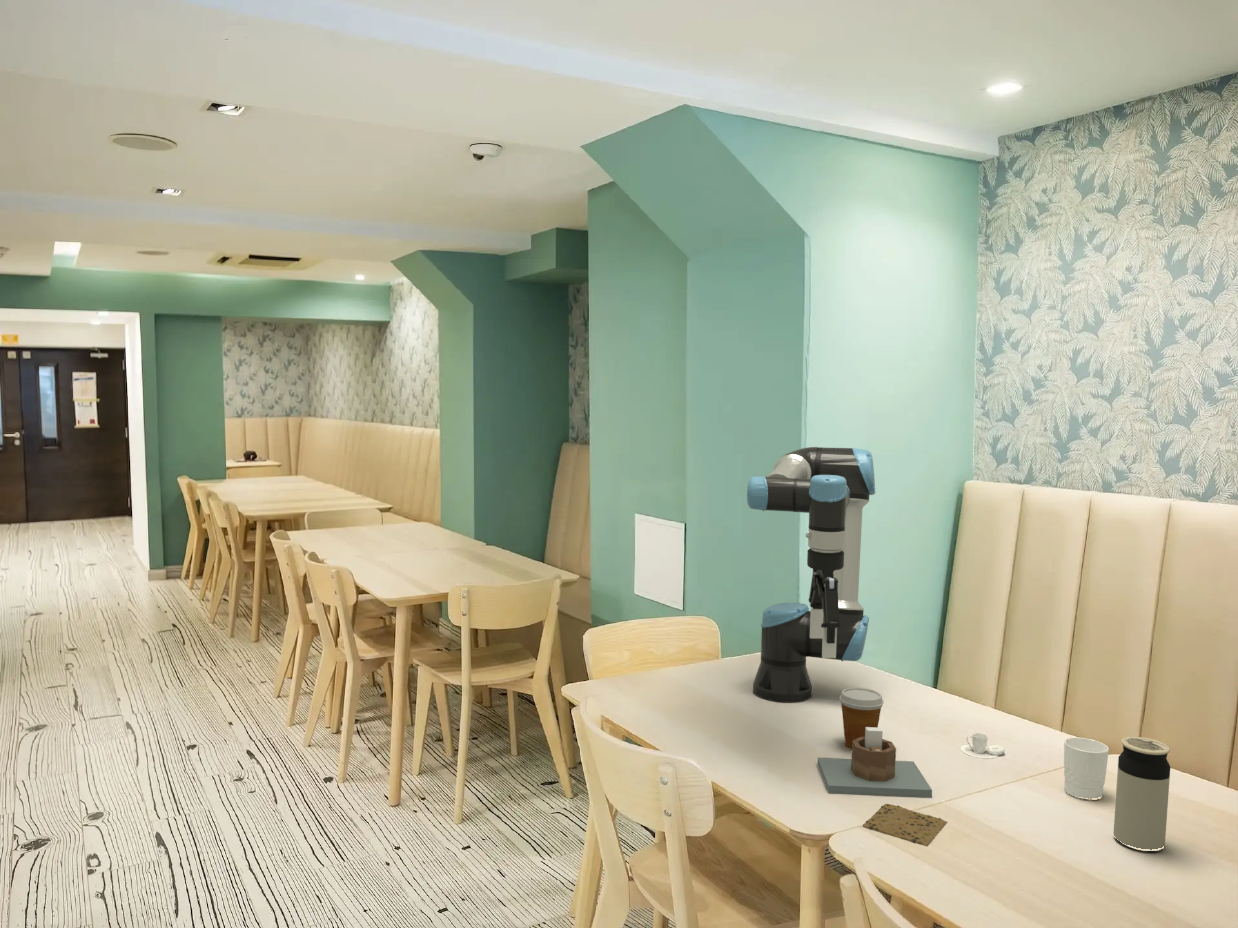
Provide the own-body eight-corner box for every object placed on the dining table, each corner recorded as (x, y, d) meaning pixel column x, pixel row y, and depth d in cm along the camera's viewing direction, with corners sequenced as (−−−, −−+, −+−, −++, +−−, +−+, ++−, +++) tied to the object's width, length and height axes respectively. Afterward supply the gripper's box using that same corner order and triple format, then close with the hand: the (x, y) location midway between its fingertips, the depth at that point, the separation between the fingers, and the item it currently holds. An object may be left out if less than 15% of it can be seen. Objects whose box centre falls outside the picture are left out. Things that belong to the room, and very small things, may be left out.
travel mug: (1143, 857, 160) (1150, 755, 158) (1103, 836, 167) (1109, 738, 165) (1175, 848, 163) (1182, 749, 161) (1133, 828, 170) (1140, 733, 169)
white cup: (1088, 805, 180) (1091, 755, 179) (1052, 789, 187) (1055, 740, 186) (1114, 797, 183) (1117, 748, 182) (1078, 782, 190) (1081, 734, 189)
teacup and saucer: (1008, 754, 205) (1009, 736, 205) (993, 764, 200) (994, 746, 199) (968, 743, 211) (969, 726, 211) (954, 752, 206) (954, 735, 205)
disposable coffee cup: (832, 749, 205) (834, 696, 204) (843, 735, 213) (845, 684, 212) (876, 758, 201) (878, 703, 200) (885, 743, 209) (888, 691, 208)
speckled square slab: (928, 849, 162) (928, 843, 162) (860, 828, 169) (861, 823, 169) (949, 824, 171) (949, 819, 171) (884, 805, 179) (884, 800, 179)
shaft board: (817, 764, 197) (819, 715, 196) (913, 768, 196) (915, 719, 195) (828, 792, 183) (830, 740, 182) (931, 797, 182) (934, 745, 181)
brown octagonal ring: (848, 764, 193) (849, 735, 193) (888, 765, 193) (889, 736, 192) (856, 780, 185) (857, 750, 185) (897, 781, 185) (899, 751, 184)
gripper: (797, 537, 208) (794, 630, 210) (819, 561, 183) (815, 666, 185) (831, 538, 207) (828, 630, 210) (857, 562, 183) (853, 666, 185)
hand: (822, 647), depth 197 cm, fingers open, 13 cm apart
